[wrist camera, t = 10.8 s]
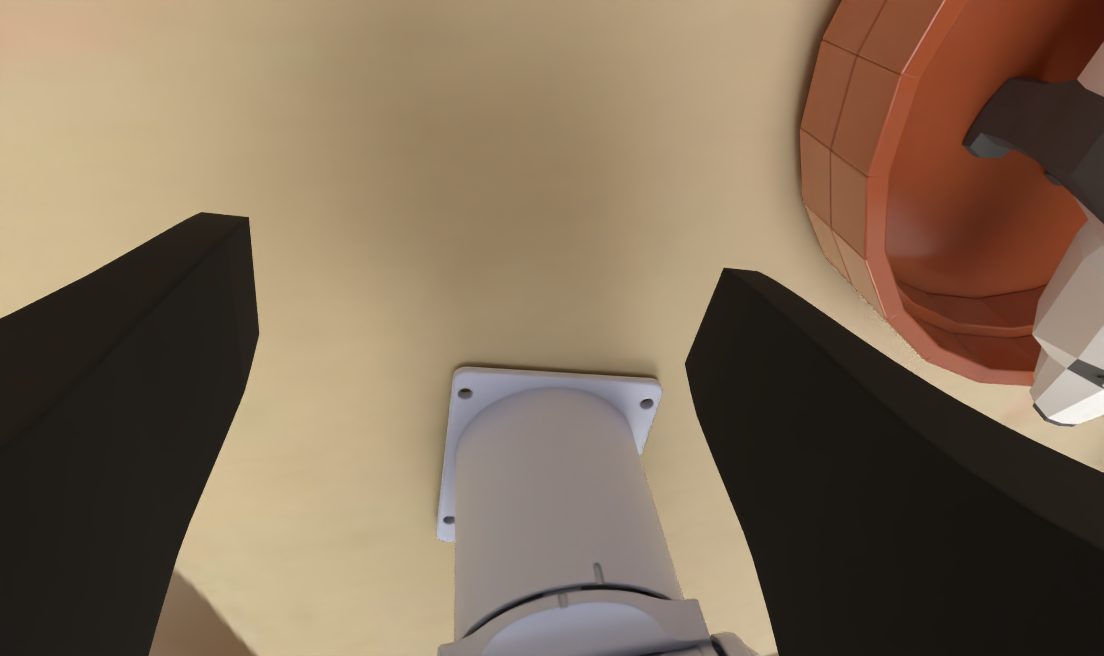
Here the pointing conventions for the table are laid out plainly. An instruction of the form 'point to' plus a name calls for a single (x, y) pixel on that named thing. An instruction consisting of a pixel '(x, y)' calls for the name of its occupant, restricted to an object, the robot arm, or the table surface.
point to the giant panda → (1098, 248)
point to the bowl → (941, 171)
